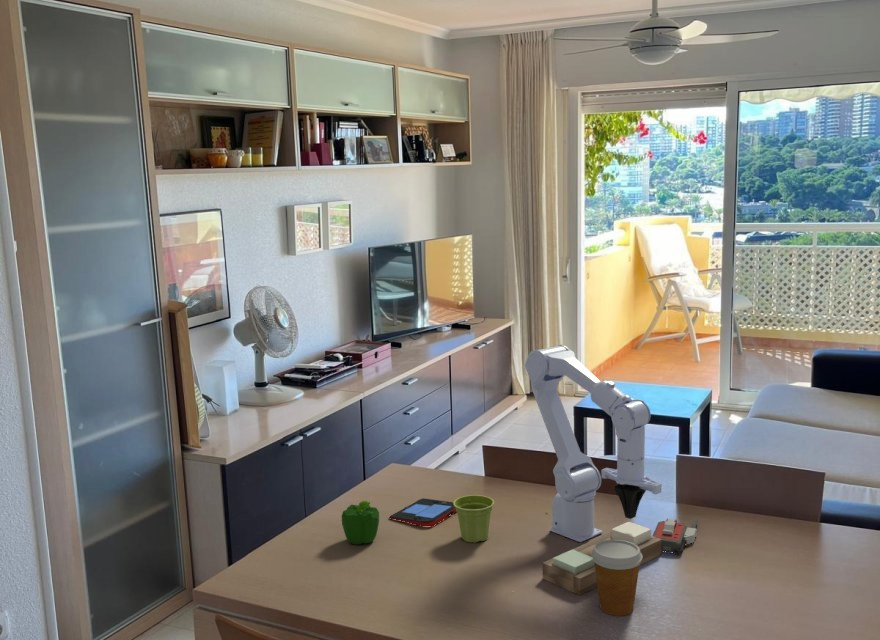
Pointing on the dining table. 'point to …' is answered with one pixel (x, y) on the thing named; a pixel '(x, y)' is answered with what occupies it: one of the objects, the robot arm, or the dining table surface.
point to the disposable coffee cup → (616, 575)
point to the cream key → (631, 533)
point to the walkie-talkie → (675, 535)
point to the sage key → (573, 561)
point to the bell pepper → (360, 523)
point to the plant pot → (474, 516)
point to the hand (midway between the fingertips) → (630, 516)
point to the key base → (588, 577)
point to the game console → (425, 512)
